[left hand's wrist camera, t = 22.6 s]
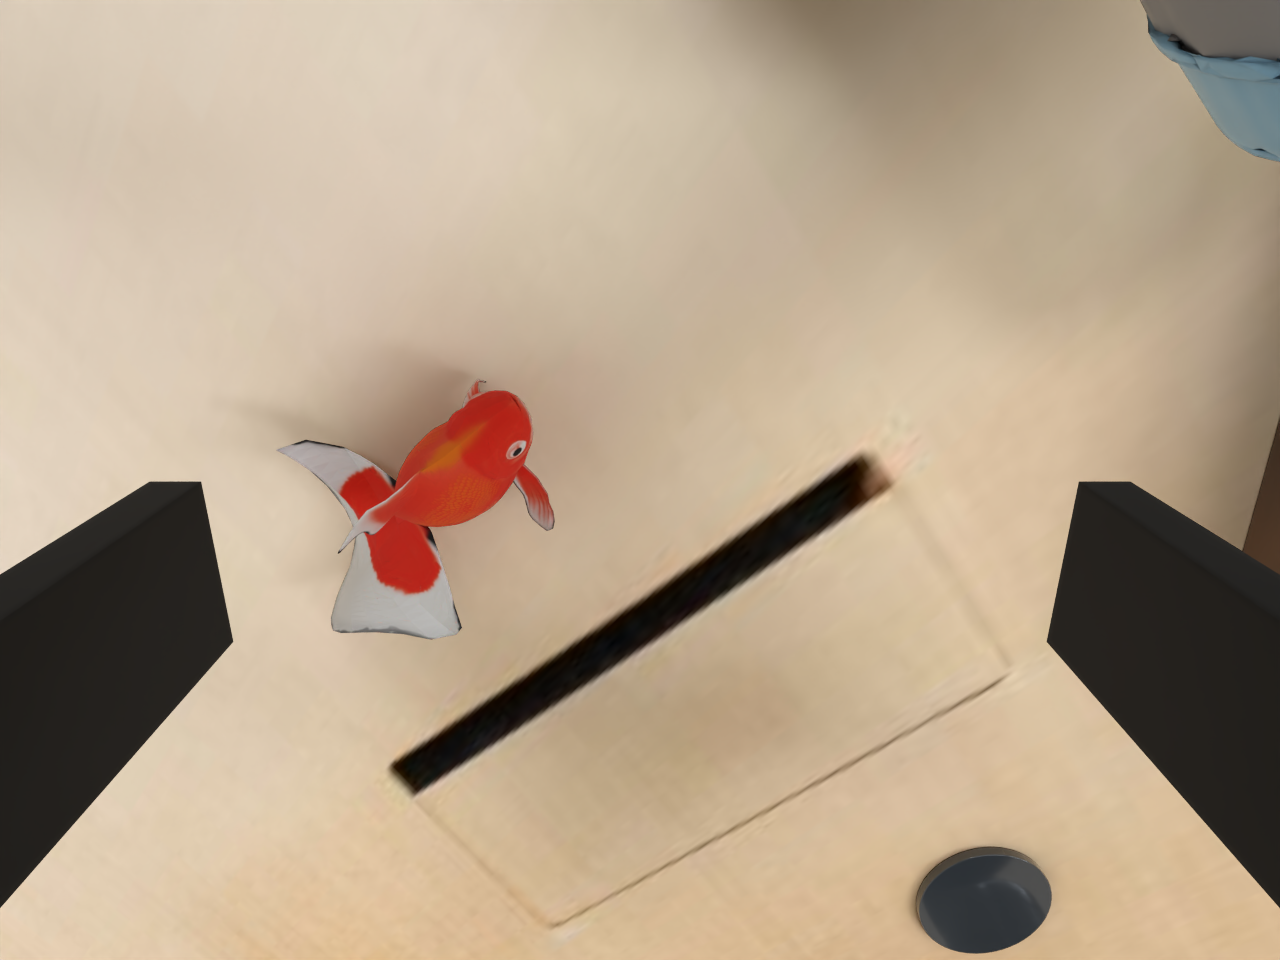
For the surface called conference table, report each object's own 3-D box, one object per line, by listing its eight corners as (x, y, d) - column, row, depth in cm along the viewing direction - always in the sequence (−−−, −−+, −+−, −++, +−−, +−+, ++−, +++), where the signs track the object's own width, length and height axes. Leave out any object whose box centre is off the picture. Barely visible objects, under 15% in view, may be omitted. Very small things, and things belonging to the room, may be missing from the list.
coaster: (924, 846, 49) (927, 854, 48) (1058, 846, 49) (1063, 854, 48) (908, 945, 51) (911, 953, 51) (1035, 945, 51) (1039, 953, 51)
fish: (656, 556, 37) (510, 640, 28) (440, 626, 45) (281, 706, 37) (566, 334, 37) (394, 355, 28) (367, 448, 45) (192, 489, 37)
